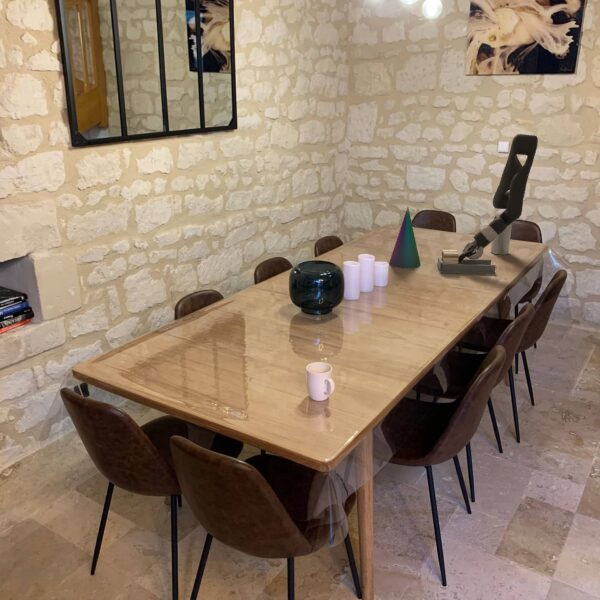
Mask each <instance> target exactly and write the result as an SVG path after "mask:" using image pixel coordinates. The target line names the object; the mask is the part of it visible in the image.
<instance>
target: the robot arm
mask: <svg viewBox="0 0 600 600" xmlns="http://www.w3.org/2000/svg"><path fill="white" fill-rule="evenodd" d="M538 143H539V138H538V137H537V135H534V134H533V135H532V134H524V133H516V134H515V135H514V137H513V138H512V140H511V144H510V148H509V149H510V150H509V153H508V158H507V159H506V163H505V166H504V168H503V171H502V174H501V177H500V180H499V184H498V186H497V188H496V191H495V193H494V195H493V198H492V205H493V207H494V209H497V210H503V211H502V212H500V213H498V214H496V215H494V218H493V220H492V221H490V223H488V224H487V225H486V226H484V227H483V228H482V229H480V230H479V231H478V232H477V233H476V234H475V235H474V236H473V239H474V240H472V241H473V242H471V241H470V242H471V243H469V242H467V243H468V244H467V243H466V244H467V246H466V247H465V246H464V247H465V248H463V249H462V253H461V254H460V255H459V258H458V261H459V262H461V261H462V260H463V259H466V258H467V257H470V256H472V255H474V254H476V253H477V250H478V249H479V248H480V247H482V248H483V249H485V248H487V247H488V245H491V247H490V253H491V254H495V255H501V256H502V255H504V256H505V255H508V254H509V252H510V244H511V243H510V242H511V235H512V233H511V232H512V226H513V225H512V224H513V222H515V221H516V220H518V219H520V218H521V217H522V212H523V207H524V206H523V205H524V198H525V194H526V188H527V182H528V181H529V175H530V173H531V169H532V166H533V163H534V159H535V156H536V152H537V149H538ZM518 155H520V156H526V159H525V162H524V163H523V164H522V162H521V161H520V159H519V158H518Z"/></svg>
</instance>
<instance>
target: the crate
mask: <svg viewBox="0 0 600 600" xmlns="http://www.w3.org/2000/svg"><path fill="white" fill-rule="evenodd" d="M459 256H460V255H459V251H458V250H457V249H441V257H440V258H441V260H442V262H443V264H458V258H459Z"/></svg>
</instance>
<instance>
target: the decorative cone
mask: <svg viewBox="0 0 600 600" xmlns="http://www.w3.org/2000/svg"><path fill="white" fill-rule="evenodd" d="M412 222H413V221H412V218H411V213H410V209H409V206H407V207H406V211H405V213H404V217H403V220H402V222H401V226H400V229H399V232H398V235H397V238H396V241H395V244H394V247H393V250H392V253H391V256H390V259H389V261H388V264H389V266H391V267H394V268H397V269H398V268H399V269H414V268H415V269H416V268H419V267H420V266H421V265H422V264H421V259H420V255H419V250H418V246H417V241H416V237H415V232H414V231H415V230H414V228H413V227H414V226H413V223H412Z"/></svg>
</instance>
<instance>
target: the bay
mask: <svg viewBox="0 0 600 600" xmlns="http://www.w3.org/2000/svg"><path fill="white" fill-rule="evenodd" d="M441 258H442V257H441V256H438V257H437V264H436V266H437V269H438V270H439V273H440V274H451V275H454V274H455V275H492V274H495V275H496V274H497V273H496V265H495V264H492V259H481V258H479V259H469V258H467V259H466V258H464V259H463V260H462V261H461V262H459V261H458V264H443V262H442V260H441Z"/></svg>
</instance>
